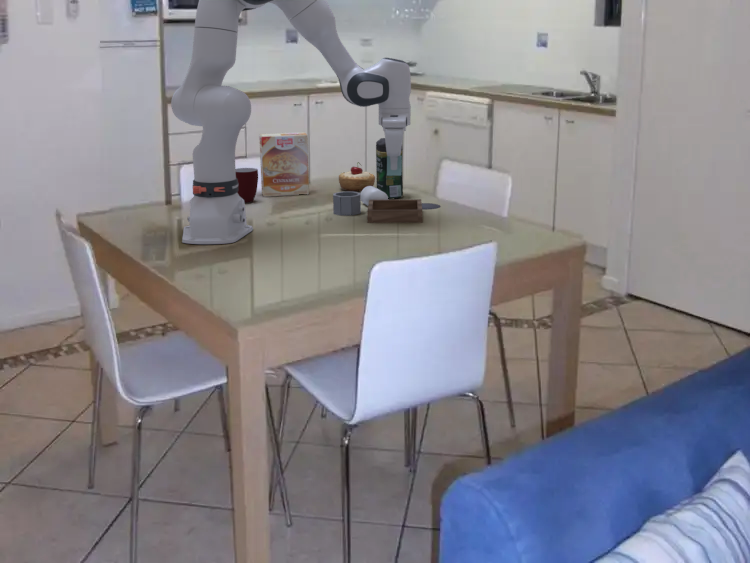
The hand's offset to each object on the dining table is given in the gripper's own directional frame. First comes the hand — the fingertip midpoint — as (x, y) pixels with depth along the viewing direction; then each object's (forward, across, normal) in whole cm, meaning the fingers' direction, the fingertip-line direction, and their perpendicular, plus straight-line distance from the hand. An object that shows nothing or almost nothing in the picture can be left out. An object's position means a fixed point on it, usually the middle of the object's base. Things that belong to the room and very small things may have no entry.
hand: (394, 168), depth 257 cm
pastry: (+14, -46, -13) cm, 49 cm away
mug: (+15, -26, -48) cm, 57 cm away
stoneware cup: (+15, -7, -14) cm, 21 cm away
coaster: (+14, -15, +9) cm, 23 cm away
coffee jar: (+14, -33, -2) cm, 36 cm away
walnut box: (+15, -1, 0) cm, 15 cm away
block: (+2, 0, 0) cm, 2 cm away
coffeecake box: (+15, -38, -36) cm, 55 cm away
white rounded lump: (+14, -17, -4) cm, 22 cm away
